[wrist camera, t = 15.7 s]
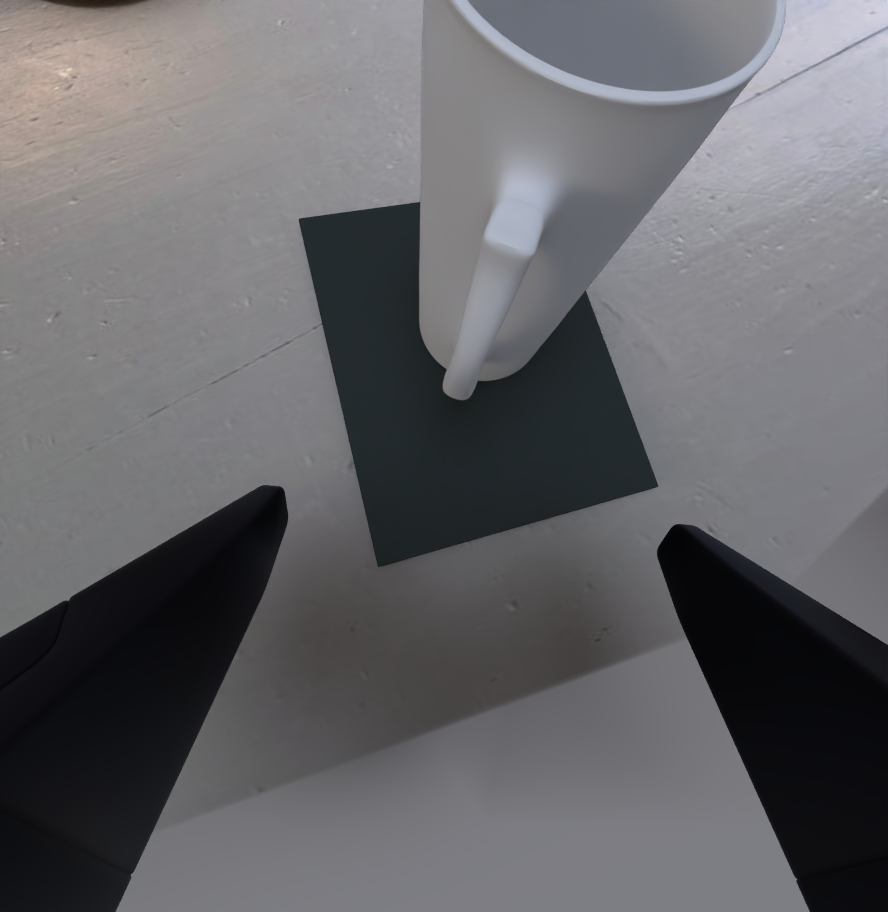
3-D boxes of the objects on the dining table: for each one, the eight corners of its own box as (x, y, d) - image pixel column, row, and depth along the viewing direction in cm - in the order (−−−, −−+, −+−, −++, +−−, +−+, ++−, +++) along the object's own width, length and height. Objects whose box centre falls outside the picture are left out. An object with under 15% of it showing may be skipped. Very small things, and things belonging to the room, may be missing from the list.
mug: (440, 249, 19) (494, -223, 7) (558, 294, 19) (807, -91, 7) (369, 419, 16) (270, 157, 5) (503, 468, 17) (729, 333, 5)
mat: (653, 487, 18) (658, 486, 17) (378, 565, 16) (377, 566, 15) (544, 190, 20) (546, 184, 20) (300, 224, 18) (298, 218, 18)
